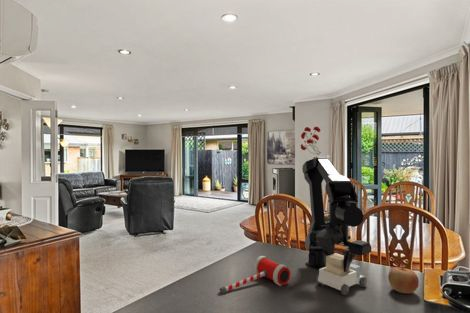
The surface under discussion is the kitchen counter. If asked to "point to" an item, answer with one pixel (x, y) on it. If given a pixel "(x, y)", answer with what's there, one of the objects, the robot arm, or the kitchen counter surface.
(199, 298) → the kitchen counter surface
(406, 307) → the kitchen counter surface
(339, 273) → the cream wooden cube
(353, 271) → the toy truck
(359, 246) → the robot arm
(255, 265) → the toy hammer
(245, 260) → the kitchen counter surface
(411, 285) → the apple
